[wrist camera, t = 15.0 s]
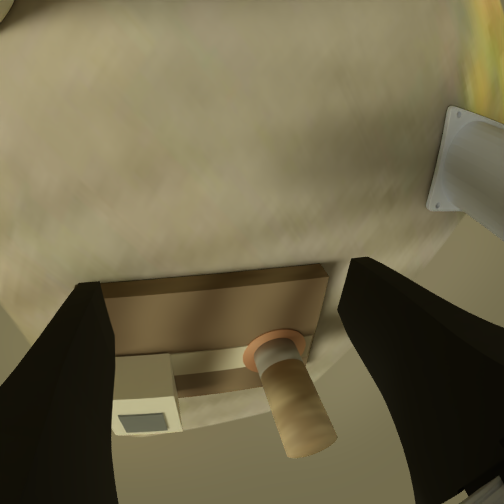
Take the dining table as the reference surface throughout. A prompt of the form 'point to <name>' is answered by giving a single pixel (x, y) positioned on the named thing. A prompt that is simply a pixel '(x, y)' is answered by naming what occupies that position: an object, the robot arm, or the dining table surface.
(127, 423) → the block
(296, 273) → the board
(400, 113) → the dining table surface
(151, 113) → the dining table surface
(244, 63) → the dining table surface
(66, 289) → the dining table surface
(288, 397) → the brown upright cylinder
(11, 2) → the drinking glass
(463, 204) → the robot arm
